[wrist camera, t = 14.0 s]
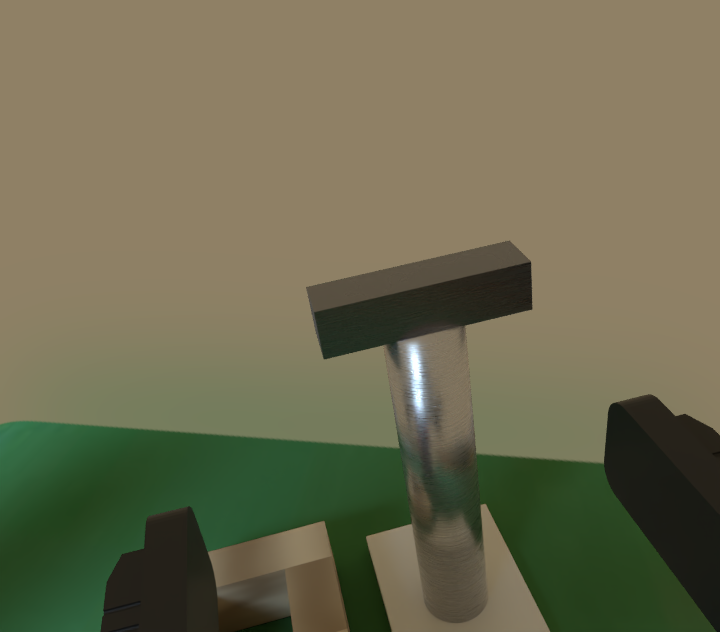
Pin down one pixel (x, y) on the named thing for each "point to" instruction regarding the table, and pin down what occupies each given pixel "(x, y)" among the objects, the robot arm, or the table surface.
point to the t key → (431, 395)
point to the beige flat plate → (405, 597)
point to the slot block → (280, 582)
